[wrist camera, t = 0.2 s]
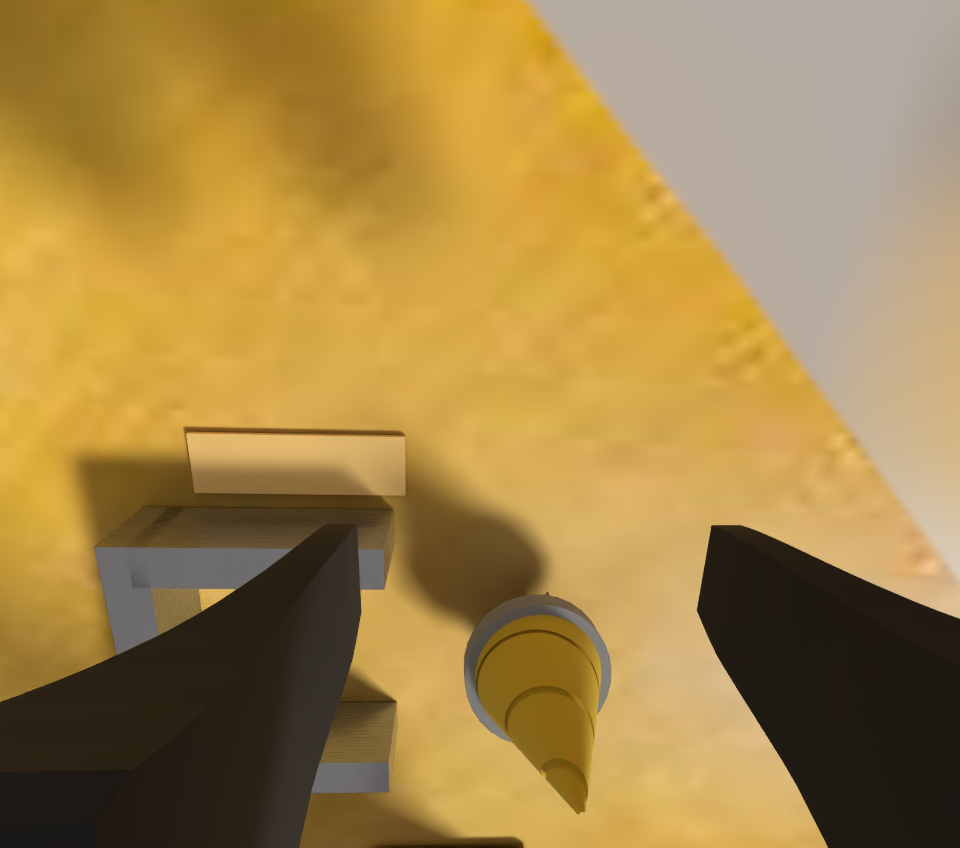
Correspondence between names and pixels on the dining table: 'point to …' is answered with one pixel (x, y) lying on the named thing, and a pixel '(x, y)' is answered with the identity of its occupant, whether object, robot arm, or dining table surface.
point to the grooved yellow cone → (541, 686)
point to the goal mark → (297, 463)
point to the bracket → (228, 565)
